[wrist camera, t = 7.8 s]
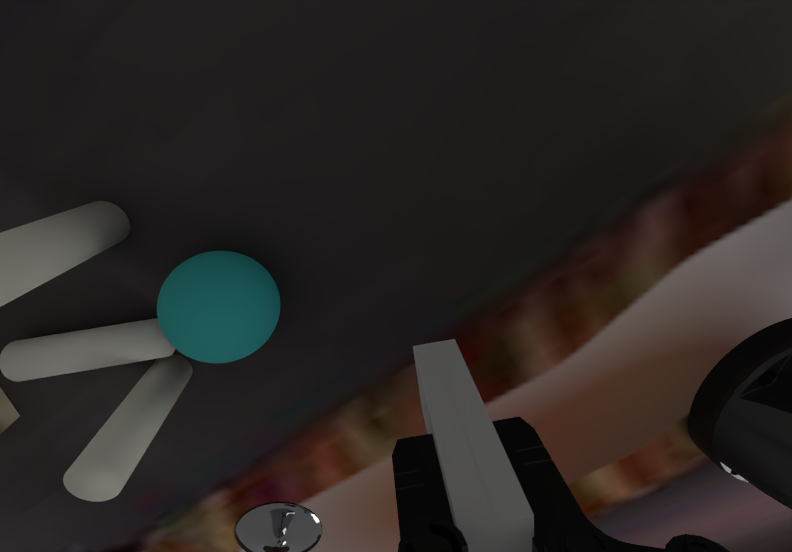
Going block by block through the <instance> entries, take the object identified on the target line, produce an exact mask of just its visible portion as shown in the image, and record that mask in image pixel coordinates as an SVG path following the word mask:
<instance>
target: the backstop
mask: <svg viewBox="0 0 792 552" xmlns="http://www.w3.org/2000/svg"><path fill="white" fill-rule="evenodd" d="M19 417H20V415H19V413H18V412H17V411H16V409H15V408H14V406H13V405H12V403H11V402H10V400H9V399H8V397H7V396H6V395H5V393H4V392H3V390H2V389H1V387H0V434H1V433H2V432H3V431H4V430H6V429H7V428H8V427H9V426H10V425H11V424H12V423H13V422H14V421H15V420H17V419H18V418H19Z"/></svg>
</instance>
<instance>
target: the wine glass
mask: <svg viewBox="0 0 792 552" xmlns="http://www.w3.org/2000/svg"><path fill="white" fill-rule="evenodd" d="M321 535H322V524H321V522H320V520H319V518H318V517H317V516H316V515H315V514H314V513H313V512H312V511H310V510H309V509H307V508H305V507H303V506H300V505H297V504H292V503H282V502H280V503H270V504H265V505H261V506H258V507H256V508H254V509H252V510H250V511H249V512H247V513H246V514H245V515H243V516H242V517H241V519H240V520H239V521H238V523H237V525H236V529H235V536H236V540H237V542H238V544H239V545H240V547H241V548H242V549H244V550H245V551H246V552H308V551H310V550H311V549H312V548H313V547H314V546H315V545H316V544H317V543H318V541H319V540H320V538H321Z"/></svg>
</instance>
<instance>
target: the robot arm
mask: <svg viewBox="0 0 792 552" xmlns="http://www.w3.org/2000/svg"><path fill="white" fill-rule="evenodd" d="M413 351H414V358H415V365H416V372H417V379H418V386H419V393H420V400H421V407H422V411H423V416H424V420H425V425H426V429H427V433H428V434H426V435H420V436H415V437H409V438H404V439H398V440H397V443H396V446H395V449H394V451H393V454H392V461H393V470H394V480H395V488H396V499H397V509H398V519H399V528H400V539H401V541H400V543H399V548H398V552H730V551H728V550H727V549H725V548H724V547H722V546H721V545H720V544H718V543H716V542H713V541H711V540H709V539H706V538H704V537H702V536H695V535H688V534H684V535H680V536H676V537H673V538H672V539H671V540H670V541H669V542H668V543H667V544H666V547H665V549H661V548H655V547H648V546H641V545H635V544H629V543H625V542H622V541H618V540H616V539H614V538H612V537H610V536H607V535H606V534H604V533H603V532H602V531H601V530H599V529H598V528H596V527H595V526H594V525H593V524H592V523H591V522H590V521H589V520H588V519H587V517H586V516H585V515H584V513H583V512H582V510H581V509H580V507H579V505H578V503H577V502H576V500H575V498H574V496H573V495H572V493H571V491H570V490H569V488H568V486H567V484H566V483H565V481H564V479H563V477H562V476H561V474H560V472H559V471H558V469H557V467H556V466H555V464H554V462H553V461H552V460H551V457H550V455H549V453H548V452H547V450H546V449H545V448H544V446H543V443H542V441H541V440H540V438H539V436H538V434H537V433H536V431H535V429H534V428H533V427H531V426H530V425H529V424H528V423H527V422H525V421H524V420H523V419H522V418H520V417H514V418H509V419H503V420H497V421H491V419H490V417H489V414H488V412H487V410H486V408H485V405H484V403H483V401H482V399H481V397H480V394H479V392H478V390H477V388H476V385H475V383H474V381H473V379H472V377H471V374H470V372H469V370H468V368H467V366H466V363H465V361H464V359H463V357H462V354H461V352H460V350H459V348H458V346H457V343H456V341H455V339H451V340H446V341H440V342H434V343H428V344H422V345H417V346H413ZM689 429H690V434H691V437H692V439H693V441H694V442H695V444H696V445H697V446H698V448H699V449H700V450H702V451H703V452H704V453H705V454H706V455H707V456H708V457H709V458H710V459H711V460H712V461H713V462H714V463H715V464H716V465H717V466H719V467H720V468H721V469H722V470H724V471H725V472H726V473H728V474H730V475H732V476H733V477H735V478H737V479H739V480H742V481H745V482H749V483H751V484H752V485H754V486H755V487H756V488H758V489H759V490H761V491H762V492H764V493H765V494H767V495H769V496H770V497H772V498H773V499H775V500H777V501H778V502H780V503H782V504H783V505H785V506H787V507H789V508H790V509H792V318H790V319H787V320H784V321H781V322H778V323H775V324H773V325H771V326H769V327H766V328H764V329H762V330H761V331H759V332H757V333H755V334H754V335H752V336H750V337H749V338H747V339H746V340H744V341H743V342H741V343H740V344H739V345H738V346H736V347H735V348H734V349H732V350H731V351H730V352H729V353H728V354H726V355H725V356H724V357H723V358H722V359H721V360H720V361H719V362H718V363H717V365H716V366H715V367H714V368H713V369H712V370H711V371H710V373H709V374H708V375H707V377H706V378H705V380H704V381H703V382H702V384H701V386H700V387H699V389H698V391H697V393H696V395H695V397H694V400H693V403H692V406H691V409H690V415H689Z"/></svg>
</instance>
